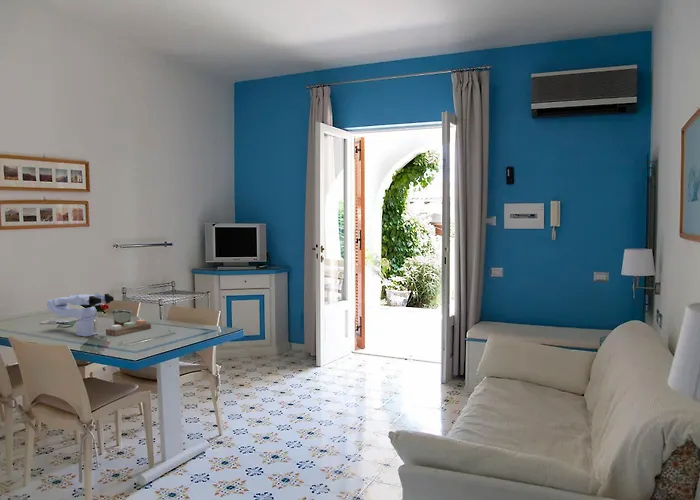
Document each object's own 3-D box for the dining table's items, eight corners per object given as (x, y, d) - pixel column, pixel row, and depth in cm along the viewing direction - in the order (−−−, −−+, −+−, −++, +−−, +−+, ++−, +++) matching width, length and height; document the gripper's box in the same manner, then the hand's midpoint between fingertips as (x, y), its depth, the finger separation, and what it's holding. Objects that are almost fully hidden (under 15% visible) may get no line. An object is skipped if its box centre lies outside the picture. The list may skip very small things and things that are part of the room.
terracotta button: (136, 326, 340) (135, 320, 340) (141, 325, 344) (141, 319, 344) (140, 327, 338) (140, 321, 338) (146, 325, 342) (145, 320, 341)
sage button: (123, 328, 333) (123, 323, 333) (129, 327, 337) (129, 322, 336) (128, 329, 331) (128, 323, 331) (134, 328, 334) (133, 322, 334)
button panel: (106, 334, 326) (105, 329, 326) (141, 326, 346) (141, 322, 346) (115, 336, 321) (115, 330, 321) (151, 328, 342) (150, 323, 341)
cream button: (111, 331, 326) (110, 325, 326) (117, 330, 329) (116, 324, 329) (115, 332, 324) (115, 326, 324) (121, 331, 327) (121, 325, 327)
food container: (136, 324, 354) (135, 308, 354) (131, 326, 348) (130, 310, 348) (117, 324, 356) (116, 308, 355) (112, 326, 349) (111, 310, 349)
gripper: (79, 294, 315) (94, 294, 308) (102, 291, 327) (117, 290, 320) (80, 307, 315) (95, 307, 308) (103, 303, 328) (118, 303, 320)
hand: (106, 299), depth 314 cm, fingers open, 7 cm apart
